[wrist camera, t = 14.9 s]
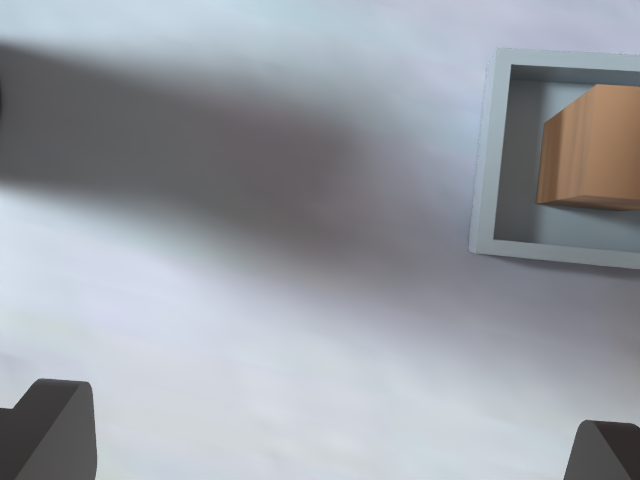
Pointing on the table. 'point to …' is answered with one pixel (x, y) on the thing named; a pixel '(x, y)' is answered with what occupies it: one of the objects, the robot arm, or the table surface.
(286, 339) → the table surface
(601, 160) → the block
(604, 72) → the tray
